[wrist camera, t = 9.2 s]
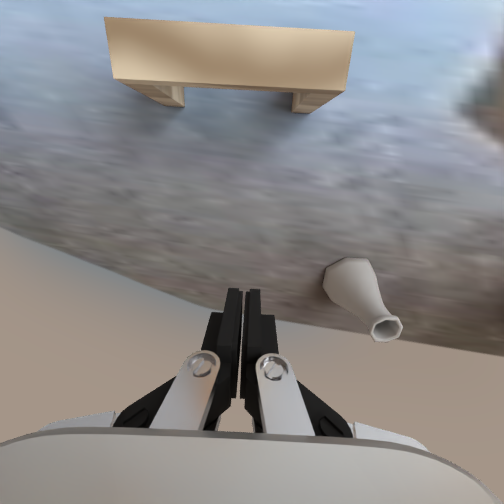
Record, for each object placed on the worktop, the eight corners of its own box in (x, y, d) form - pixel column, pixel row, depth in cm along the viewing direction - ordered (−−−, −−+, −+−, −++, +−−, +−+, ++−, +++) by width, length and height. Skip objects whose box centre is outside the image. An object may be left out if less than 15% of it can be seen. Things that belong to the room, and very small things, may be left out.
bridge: (161, 70, 23) (103, 16, 14) (314, 78, 23) (354, 31, 14) (165, 105, 24) (113, 78, 15) (310, 113, 24) (344, 90, 15)
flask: (325, 305, 34) (352, 363, 25) (318, 262, 31) (346, 309, 22) (375, 295, 33) (423, 350, 24) (373, 250, 30) (425, 292, 21)
